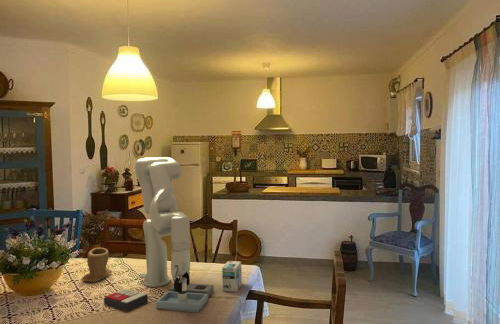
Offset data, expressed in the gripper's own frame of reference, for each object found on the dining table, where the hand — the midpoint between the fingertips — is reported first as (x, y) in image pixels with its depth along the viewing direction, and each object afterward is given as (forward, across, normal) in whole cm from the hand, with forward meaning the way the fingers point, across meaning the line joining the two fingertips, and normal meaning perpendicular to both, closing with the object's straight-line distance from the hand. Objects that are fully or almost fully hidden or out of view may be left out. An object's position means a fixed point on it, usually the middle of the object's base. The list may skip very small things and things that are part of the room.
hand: (182, 287), depth 161 cm
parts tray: (+7, 0, 0) cm, 7 cm away
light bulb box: (+7, -22, +15) cm, 28 cm away
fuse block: (+7, -12, -1) cm, 14 cm away
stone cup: (+7, -23, -54) cm, 59 cm away
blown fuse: (+6, 0, 0) cm, 6 cm away
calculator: (+8, +2, -24) cm, 26 cm away
